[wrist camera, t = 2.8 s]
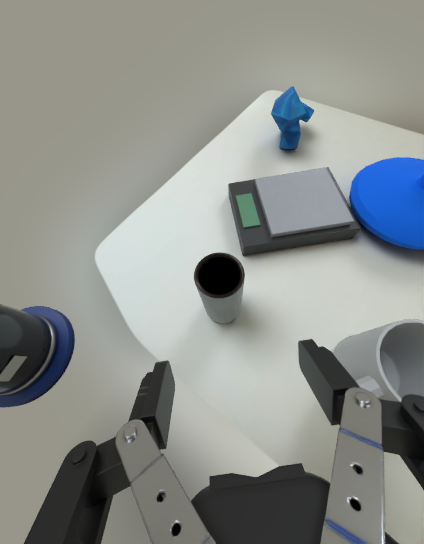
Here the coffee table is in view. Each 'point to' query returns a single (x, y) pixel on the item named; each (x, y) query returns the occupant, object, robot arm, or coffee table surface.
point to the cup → (386, 359)
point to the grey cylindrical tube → (220, 286)
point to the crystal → (290, 117)
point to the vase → (391, 200)
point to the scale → (290, 211)
